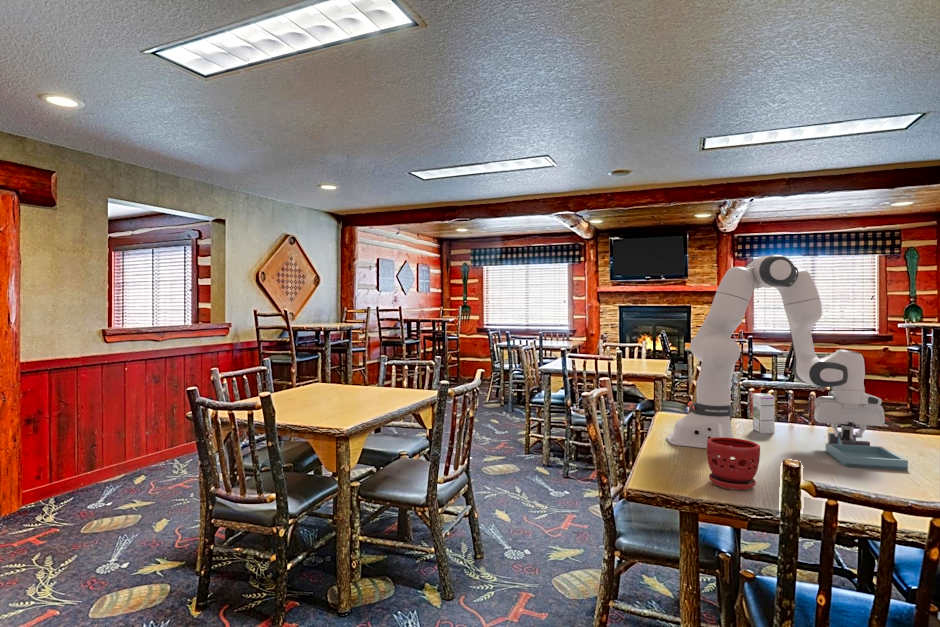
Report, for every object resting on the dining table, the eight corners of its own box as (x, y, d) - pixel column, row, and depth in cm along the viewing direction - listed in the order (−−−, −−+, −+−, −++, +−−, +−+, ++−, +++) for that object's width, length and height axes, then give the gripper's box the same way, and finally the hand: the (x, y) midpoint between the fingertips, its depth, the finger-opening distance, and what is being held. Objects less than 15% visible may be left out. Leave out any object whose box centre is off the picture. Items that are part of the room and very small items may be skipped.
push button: (863, 449, 183) (865, 420, 183) (853, 450, 181) (855, 420, 181) (843, 444, 189) (844, 416, 189) (833, 445, 187) (835, 416, 187)
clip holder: (842, 451, 181) (842, 440, 180) (828, 442, 192) (828, 432, 192) (869, 452, 179) (870, 442, 178) (853, 443, 190) (854, 433, 190)
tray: (846, 466, 164) (846, 456, 164) (825, 452, 179) (825, 443, 179) (907, 470, 160) (907, 460, 160) (881, 455, 175) (881, 446, 175)
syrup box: (775, 433, 205) (775, 395, 205) (759, 433, 205) (759, 395, 205) (767, 429, 211) (767, 393, 211) (751, 429, 211) (752, 393, 211)
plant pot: (762, 496, 139) (762, 449, 139) (706, 489, 144) (706, 444, 144) (757, 480, 151) (757, 438, 151) (706, 474, 156) (706, 433, 156)
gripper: (818, 397, 185) (817, 437, 185) (887, 399, 179) (886, 441, 180) (811, 394, 191) (811, 433, 191) (878, 396, 186) (877, 436, 186)
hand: (848, 437), depth 185 cm, fingers closed on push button, 5 cm apart
